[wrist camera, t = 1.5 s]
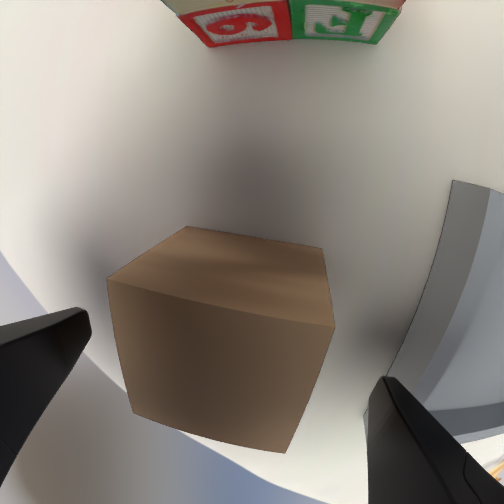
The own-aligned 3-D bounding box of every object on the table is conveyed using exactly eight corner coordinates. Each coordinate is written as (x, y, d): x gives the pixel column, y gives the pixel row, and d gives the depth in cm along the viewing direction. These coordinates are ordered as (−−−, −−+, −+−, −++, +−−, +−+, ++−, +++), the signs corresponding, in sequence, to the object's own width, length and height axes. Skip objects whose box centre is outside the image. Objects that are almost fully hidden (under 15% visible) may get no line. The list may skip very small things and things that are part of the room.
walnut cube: (321, 248, 10) (334, 327, 5) (295, 356, 11) (285, 453, 7) (187, 225, 10) (106, 278, 6) (184, 333, 12) (132, 412, 7)
